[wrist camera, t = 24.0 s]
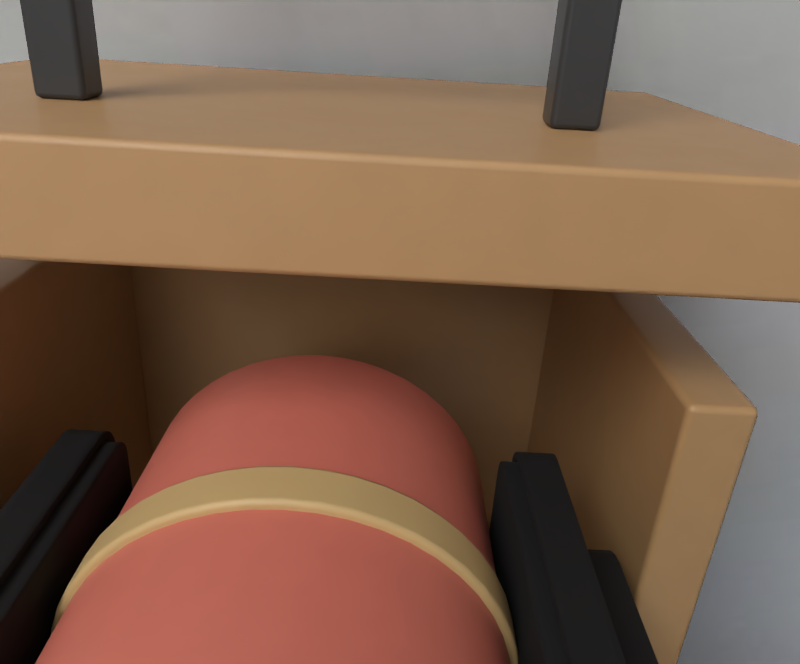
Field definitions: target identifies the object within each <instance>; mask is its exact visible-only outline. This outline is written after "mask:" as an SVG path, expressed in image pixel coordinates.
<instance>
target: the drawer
mask: <svg viewBox="0 0 800 664" xmlns="http://www.w3.org/2000/svg"><path fill="white" fill-rule="evenodd" d="M20 3H21V10H22V16H23V22H24V28H25V34H26V41H27V47H28V53H29V59H30V60H26V61H18V62H10V63H3V64H0V510H1V509H2V508H3V507H4V505H5V504H6V503H7V502H8V500H9V499H10V498H11V497H12V495H13V494H14V493H15V492H16V490H17V489H18V488H19V487H20V485H21V484H22V483H23V482H24V481H25V479H26V478H27V477H28V476H29V474H30V473H31V472H32V471H33V469H34V468H35V467H36V466H37V464H38V463H39V462H40V461H41V459H42V458H43V457H44V456H45V454H46V453H47V452H48V451H49V449H50V448H51V447H52V446H53V444H54V443H55V442H56V441H57V440H58V438H59V437H60V436H61V435H62V434H63V433H64V432H65V431H66V430H69V429H76V430H96V431H109V432H111V433H112V434H113V436H114V438H115V442H123V443H124V444H125V445H126V448H127V452H128V460H129V467H130V474H131V482H132V489H134V487H135V485H136V484H137V482H138V480H139V478H140V476H141V475H142V473H143V471H144V469H145V468H146V466H147V464H148V462H149V460H150V459H151V457H152V455H153V453H154V452H155V450H156V448H157V446H158V445H159V443H160V441H161V439H162V437H163V436H164V434H165V432H166V430H167V429H168V427H169V425H170V423H171V422H172V421H173V419H174V418H175V416H176V415H177V414H178V412H179V411H180V410H181V408H182V407H183V406H184V405H185V404H186V403H187V402H188V401H189V400H190V399H191V398H192V397H193V396H194V395H195V394H197V393H198V392H199V391H201V390H202V389H203V388H205V387H206V386H207V385H209V384H210V383H211V382H213V381H215V380H217V379H218V378H220V377H222V376H224V375H226V374H228V373H229V372H232V371H234V370H237V369H239V368H242V367H244V366H247V365H250V364H252V363H256V362H260V361H265V360H269V359H273V358H279V357H287V356H295V355H323V356H332V357H341V358H347V359H351V360H355V361H360V362H364V363H368V364H370V365H373V366H376V367H379V368H382V369H384V370H387V371H389V372H391V373H393V374H395V375H397V376H399V377H401V378H403V379H405V380H407V381H409V382H410V383H412V384H413V385H415V386H416V387H418V388H419V389H421V390H422V391H424V392H425V393H427V394H428V395H429V396H430V397H431V398H433V399H434V400H435V401H436V402H437V403H438V404H440V405H441V406H442V407H443V408H444V409H445V410H446V412H447V413H448V414H449V415H450V416H451V417H452V418H453V420H454V421H455V422H456V423H457V425H458V426H459V428H460V429H461V431H462V432H463V434H464V435H465V437H466V438H467V440H468V442H469V445H470V447H471V449H472V451H473V453H474V456H475V459H476V462H477V466H478V469H479V473H480V479H481V485H482V491H483V497H484V503H485V510H486V516H487V522H488V528H489V529H490V522H491V515H492V508H493V501H494V494H495V487H496V480H497V473H498V467H499V464H500V462H501V461H509V462H512V458H513V455H514V453H515V452H532V453H551V454H554V455H555V456H556V458H557V460H558V463H559V466H560V469H561V472H562V475H563V478H564V481H565V484H566V487H567V490H568V492H569V495H570V498H571V501H572V504H573V507H574V510H575V513H576V516H577V519H578V522H579V525H580V528H581V531H582V534H583V537H584V540H585V543H586V546H587V549H593V550H611V551H612V552H613V553H614V554H615V555H616V557H617V559H618V561H619V563H620V565H621V568H622V570H623V573H624V576H625V578H626V581H627V583H628V586H629V589H630V591H631V594H632V596H633V599H634V601H635V604H636V607H637V609H638V612H639V614H640V617H641V620H642V622H643V625H644V627H645V630H646V632H647V635H648V638H649V640H650V643H651V645H652V648H653V651H654V653H655V656H656V658H657V661H658V663H659V664H676V663H677V660H678V657H679V654H680V651H681V648H682V645H683V642H684V639H685V636H686V633H687V630H688V627H689V624H690V620H691V617H692V614H693V611H694V608H695V605H696V602H697V599H698V596H699V593H700V590H701V587H702V584H703V581H704V578H705V575H706V571H707V568H708V565H709V562H710V559H711V556H712V553H713V550H714V547H715V544H716V541H717V538H718V535H719V532H720V529H721V526H722V523H723V519H724V516H725V513H726V510H727V507H728V504H729V501H730V498H731V495H732V492H733V489H734V486H735V483H736V480H737V477H738V474H739V470H740V467H741V464H742V461H743V458H744V455H745V452H746V449H747V446H748V443H749V440H750V437H751V434H752V431H753V428H754V425H755V422H756V418H757V409H756V407H755V406H754V405H753V404H752V403H751V401H750V400H749V399H748V398H747V397H746V396H745V395H744V394H743V392H742V391H741V390H740V389H739V388H738V387H737V386H736V385H735V383H734V382H733V381H732V380H731V379H730V378H729V377H728V376H727V374H726V373H725V372H724V371H723V370H722V369H721V368H720V367H719V365H718V364H717V363H716V362H715V361H714V360H713V359H712V358H711V356H710V355H709V354H708V353H707V352H706V351H705V350H704V348H703V347H702V346H701V345H700V344H699V343H698V342H697V341H696V339H695V338H694V337H693V336H692V335H691V334H690V333H689V332H688V330H687V329H686V328H685V327H684V326H683V325H682V324H681V323H680V321H679V320H678V319H677V318H676V317H675V316H674V315H673V314H672V312H671V311H670V310H669V309H668V308H667V307H666V306H665V305H664V303H663V302H662V301H661V300H660V299H659V298H658V297H657V296H656V295H671V296H689V297H707V298H725V299H743V300H762V301H780V302H798V303H800V145H797V144H794V143H791V142H789V141H786V140H783V139H780V138H777V137H774V136H771V135H768V134H765V133H762V132H759V131H756V130H753V129H750V128H747V127H744V126H742V125H739V124H736V123H733V122H730V121H727V120H724V119H721V118H718V117H715V116H712V115H709V114H706V113H703V112H700V111H697V110H695V109H692V108H689V107H686V106H683V105H680V104H677V103H674V102H671V101H668V100H665V99H662V98H659V97H656V96H653V95H650V94H648V93H642V92H625V91H609V90H606V89H607V83H608V77H609V72H610V66H611V60H612V55H613V49H614V43H615V38H616V32H617V26H618V20H619V15H620V9H621V3H622V0H559V2H558V10H557V17H556V24H555V31H554V38H553V45H552V53H551V60H550V67H549V74H548V81H547V87H543V86H526V85H510V84H493V83H477V82H460V81H444V80H427V79H411V78H395V77H378V76H362V75H345V74H329V73H312V72H296V71H279V70H263V69H246V68H230V67H213V66H197V65H180V64H164V63H147V62H131V61H114V60H99V56H98V48H97V40H96V31H95V23H94V15H93V7H92V0H20Z"/></svg>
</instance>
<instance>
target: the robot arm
mask: <svg viewBox="0 0 800 664" xmlns="http://www.w3.org/2000/svg"><path fill="white" fill-rule="evenodd" d="M132 491H133V489H132V482H131V474H130V467H129V460H128V452H127V448H126V445H125V444H124V443H123V442H115V438H114V436H113V434H112V433H111V432H109V431H96V430H76V429H69V430H66V431H65V432H64V433H63V434H62V435H61V436H60V437H59V438H58V440H57V441H56V442H55V443H54V444H53V446H52V447H51V448H50V449H49V451H48V452H47V453H46V454H45V456H44V457H43V458H42V459H41V461H40V462H39V463H38V464H37V466H36V467H35V468H34V469H33V471H32V472H31V473H30V474H29V476H28V477H27V478H26V479H25V481H24V482H23V483H22V484H21V485H20V487H19V488H18V489H17V490H16V492H15V493H14V494H13V495H12V497H11V498H10V499H9V500H8V502H7V503H6V504H5V505H4V507H3V508H2V509H1V510H0V664H35V663H36V661H37V659H38V657H39V655H40V654H41V652H42V650H43V648H44V647H45V645H46V643H47V641H48V640H49V638H50V636H51V628H52V624H53V620H54V617H55V613H56V609H57V606H58V604H59V602H60V600H61V598H62V596H63V594H64V592H65V590H66V588H67V586H68V584H69V582H70V581H71V579H72V577H73V575H74V574H75V572H76V570H77V569H78V567H79V565H80V563H81V562H82V560H83V558H84V557H85V555H86V553H87V552H88V551H89V549H90V548H91V547H92V545H93V544H94V542H95V541H96V540H97V538H98V537H99V536H100V534H101V533H103V532H104V531H105V530H106V529H107V528H108V527H109V526H110V525H111V524H112V523H113V522H114V521H115V520H116V519H117V517H118V515H119V514H120V512H121V510H122V508H123V507H124V505H125V503H126V501H127V499H128V498H129V496H130V494H131V492H132ZM489 534H490V540H491V546H492V553H493V559H494V565H495V571H496V576H497V578H498V580H499V582H500V584H501V586H502V588H503V590H504V592H505V594H506V598H507V601H508V605H509V608H510V612H511V615H512V621H513V626H514V632H515V637H516V643H517V649H518V664H659V663H658V661H657V658H656V656H655V653H654V651H653V648H652V645H651V643H650V640H649V638H648V635H647V632H646V630H645V627H644V625H643V622H642V620H641V617H640V614H639V612H638V609H637V607H636V604H635V601H634V599H633V596H632V594H631V591H630V589H629V586H628V583H627V581H626V578H625V576H624V573H623V570H622V568H621V565H620V563H619V561H618V559H617V557H616V555H615V554H614V553H613V552H612V551H611V550H593V549H587V546H586V543H585V540H584V537H583V534H582V531H581V528H580V525H579V522H578V519H577V516H576V513H575V510H574V507H573V504H572V501H571V498H570V495H569V492H568V490H567V487H566V484H565V481H564V478H563V475H562V472H561V469H560V466H559V463H558V460H557V458H556V456H555V455H554V454H551V453H532V452H515V453H514V455H513V458H512V462H509V461H501V462H500V464H499V467H498V473H497V480H496V487H495V494H494V501H493V508H492V515H491V522H490V529H489Z"/></svg>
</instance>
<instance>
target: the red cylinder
mask: <svg viewBox="0 0 800 664" xmlns="http://www.w3.org/2000/svg"><path fill="white" fill-rule="evenodd" d="M35 664H518V649H517V643H516V637H515V632H514V626H513V621H512V615H511V612H510V608H509V605H508V601H507V598H506V594H505V592H504V590H503V588H502V586H501V584H500V582H499V580H498V578H497V576H496V571H495V565H494V559H493V553H492V546H491V540H490V534H489V528H488V522H487V516H486V510H485V503H484V497H483V491H482V485H481V479H480V473H479V469H478V466H477V462H476V459H475V456H474V453H473V451H472V449H471V447H470V445H469V442H468V440H467V438H466V437H465V435H464V434H463V432H462V431H461V429H460V428H459V426H458V425H457V423H456V422H455V421H454V420H453V418H452V417H451V416H450V415H449V414H448V413H447V412H446V410H445V409H444V408H443V407H442V406H441V405H440V404H438V403H437V402H436V401H435V400H434V399H433V398H431V397H430V396H429V395H428V394H427V393H425V392H424V391H422V390H421V389H419V388H418V387H416V386H415V385H413V384H412V383H410V382H409V381H407V380H405V379H403V378H401V377H399V376H397V375H395V374H393V373H391V372H389V371H387V370H384V369H382V368H379V367H376V366H373V365H370V364H368V363H364V362H360V361H355V360H351V359H347V358H341V357H332V356H323V355H295V356H287V357H279V358H273V359H269V360H265V361H260V362H256V363H252V364H250V365H247V366H244V367H242V368H239V369H237V370H234V371H232V372H229V373H228V374H226V375H224V376H222V377H220V378H218V379H217V380H215V381H213V382H211V383H210V384H209V385H207V386H206V387H205V388H203V389H202V390H201V391H199V392H198V393H197V394H195V395H194V396H193V397H192V398H191V399H190V400H189V401H188V402H187V403H186V404H185V405H184V406H183V407H182V408H181V410H180V411H179V412H178V414H177V415H176V416H175V418H174V419H173V421H172V422H171V423H170V425H169V427H168V429H167V430H166V432H165V434H164V436H163V437H162V439H161V441H160V443H159V445H158V446H157V448H156V450H155V452H154V453H153V455H152V457H151V459H150V460H149V462H148V464H147V466H146V468H145V469H144V471H143V473H142V475H141V476H140V478H139V480H138V482H137V484H136V485H135V487H134V489H133V491H132V492H131V494H130V496H129V498H128V499H127V501H126V503H125V505H124V507H123V508H122V510H121V512H120V514H119V515H118V517H117V519H116V520H115V521H114V522H113V523H112V524H111V525H110V526H109V527H108V528H107V529H106V530H105V531H104V532H103V533H101V534H100V536H99V537H98V538H97V540H96V541H95V542H94V544H93V545H92V547H91V548H90V549H89V551H88V552H87V553H86V555H85V557H84V558H83V560H82V562H81V563H80V565H79V567H78V569H77V570H76V572H75V574H74V575H73V577H72V579H71V581H70V582H69V584H68V586H67V588H66V590H65V592H64V594H63V596H62V598H61V600H60V602H59V604H58V606H57V609H56V613H55V617H54V620H53V624H52V628H51V636H50V638H49V640H48V641H47V643H46V645H45V647H44V648H43V650H42V652H41V654H40V655H39V657H38V659H37V661H36V663H35Z"/></svg>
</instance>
